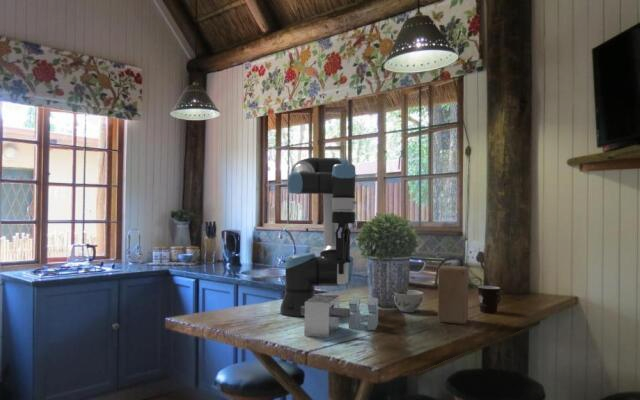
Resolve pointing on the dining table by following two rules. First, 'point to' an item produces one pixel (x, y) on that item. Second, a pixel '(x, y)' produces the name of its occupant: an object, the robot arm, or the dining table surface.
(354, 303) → the v stand
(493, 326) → the dining table surface
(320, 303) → the grey box
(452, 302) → the wooden block
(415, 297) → the teacup
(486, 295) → the coffee mug
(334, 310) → the axle
